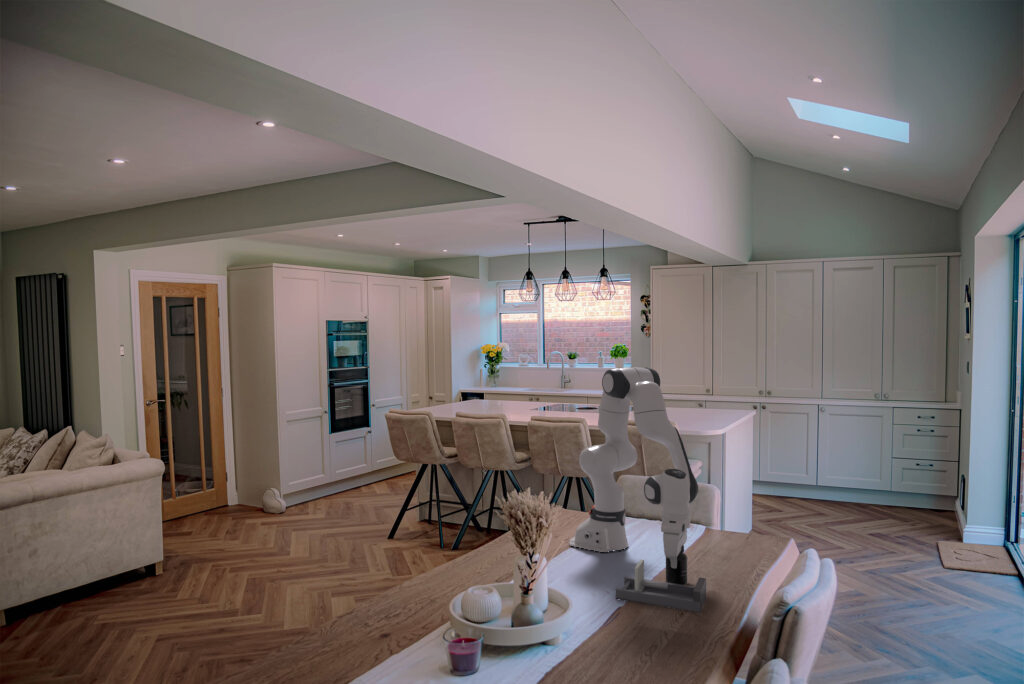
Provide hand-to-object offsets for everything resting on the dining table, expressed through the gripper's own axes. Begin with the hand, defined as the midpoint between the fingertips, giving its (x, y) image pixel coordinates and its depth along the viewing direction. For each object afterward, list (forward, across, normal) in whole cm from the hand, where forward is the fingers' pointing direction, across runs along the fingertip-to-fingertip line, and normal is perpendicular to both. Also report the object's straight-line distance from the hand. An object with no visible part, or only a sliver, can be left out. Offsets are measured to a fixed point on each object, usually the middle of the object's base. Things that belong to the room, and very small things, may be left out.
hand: (676, 563), depth 207 cm
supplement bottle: (+6, 0, 0) cm, 6 cm away
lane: (+6, +15, -2) cm, 16 cm away
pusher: (+5, +15, -5) cm, 17 cm away
